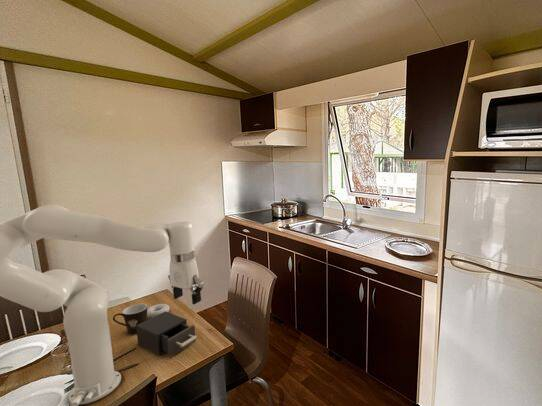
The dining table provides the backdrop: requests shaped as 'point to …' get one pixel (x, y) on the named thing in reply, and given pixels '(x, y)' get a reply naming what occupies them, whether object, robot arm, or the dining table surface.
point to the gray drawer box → (156, 330)
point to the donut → (157, 310)
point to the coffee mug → (133, 317)
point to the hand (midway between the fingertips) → (187, 299)
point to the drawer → (177, 339)
